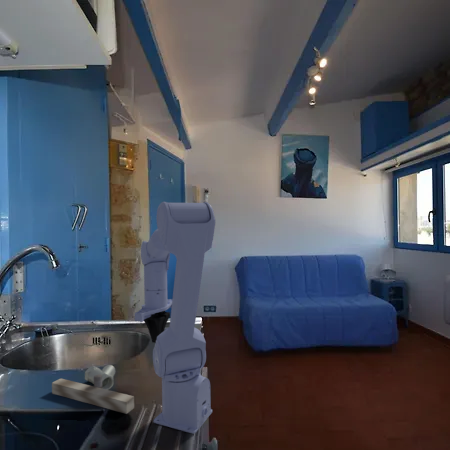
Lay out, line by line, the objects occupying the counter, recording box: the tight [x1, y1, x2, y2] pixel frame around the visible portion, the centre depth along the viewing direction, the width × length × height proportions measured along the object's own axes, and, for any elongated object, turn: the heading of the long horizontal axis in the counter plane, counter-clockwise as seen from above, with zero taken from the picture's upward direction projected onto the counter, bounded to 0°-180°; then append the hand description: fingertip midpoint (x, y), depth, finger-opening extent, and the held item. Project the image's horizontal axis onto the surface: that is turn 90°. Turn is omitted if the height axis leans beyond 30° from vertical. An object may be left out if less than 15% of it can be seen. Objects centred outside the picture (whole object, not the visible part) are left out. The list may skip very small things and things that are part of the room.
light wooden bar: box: [51, 375, 135, 415], centre depth 75 cm, size 22×4×4 cm, turn 67°
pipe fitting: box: [84, 364, 116, 390], centre depth 83 cm, size 8×4×7 cm
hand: (156, 341), depth 84 cm, fingers closed
